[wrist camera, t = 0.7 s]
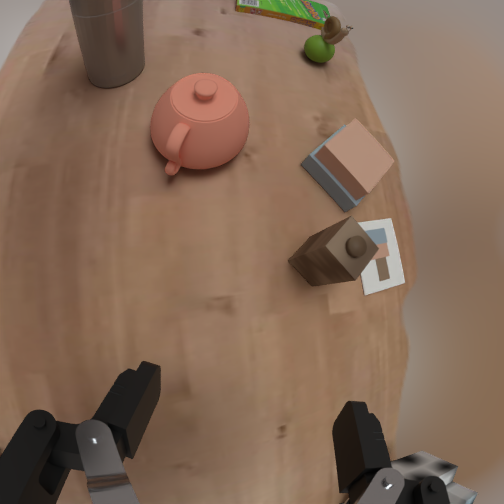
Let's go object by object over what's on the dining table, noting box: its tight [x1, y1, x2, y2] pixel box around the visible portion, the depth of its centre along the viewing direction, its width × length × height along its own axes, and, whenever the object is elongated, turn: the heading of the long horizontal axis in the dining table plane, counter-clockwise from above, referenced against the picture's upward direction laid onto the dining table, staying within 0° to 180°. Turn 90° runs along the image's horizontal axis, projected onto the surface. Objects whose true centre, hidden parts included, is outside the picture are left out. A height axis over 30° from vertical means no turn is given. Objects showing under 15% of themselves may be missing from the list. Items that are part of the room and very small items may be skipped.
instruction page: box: [358, 218, 405, 295], centre depth 39 cm, size 10×8×1 cm
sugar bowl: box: [150, 73, 249, 175], centre depth 31 cm, size 12×14×10 cm
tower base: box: [301, 118, 394, 212], centre depth 37 cm, size 9×9×6 cm
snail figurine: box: [304, 16, 353, 63], centre depth 38 cm, size 5×6×12 cm
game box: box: [236, 0, 330, 30], centre depth 45 cm, size 3×10×20 cm
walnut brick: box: [288, 216, 379, 286], centre depth 32 cm, size 4×4×11 cm
